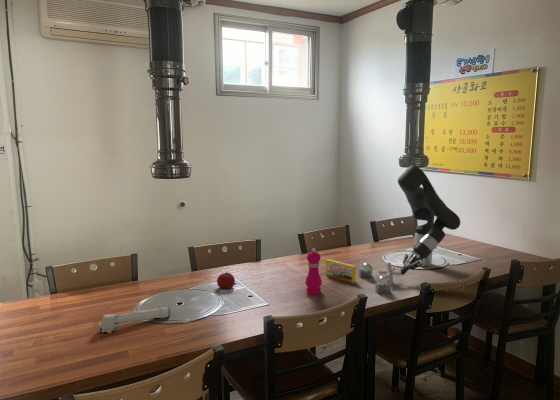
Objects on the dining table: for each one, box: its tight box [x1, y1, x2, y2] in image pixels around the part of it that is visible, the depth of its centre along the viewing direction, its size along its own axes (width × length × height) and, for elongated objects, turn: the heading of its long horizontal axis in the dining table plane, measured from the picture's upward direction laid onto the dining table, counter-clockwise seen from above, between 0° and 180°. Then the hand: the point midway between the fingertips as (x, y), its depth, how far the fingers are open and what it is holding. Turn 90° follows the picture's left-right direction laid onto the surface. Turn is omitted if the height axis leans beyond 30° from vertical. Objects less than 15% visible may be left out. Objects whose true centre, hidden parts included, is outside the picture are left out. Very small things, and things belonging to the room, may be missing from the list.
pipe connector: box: [378, 261, 402, 284], centre depth 189 cm, size 10×10×10 cm
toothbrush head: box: [98, 306, 171, 333], centre depth 151 cm, size 5×7×25 cm
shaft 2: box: [374, 273, 392, 295], centre depth 180 cm, size 6×6×7 cm
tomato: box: [216, 271, 236, 289], centre depth 186 cm, size 8×8×7 cm
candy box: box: [325, 258, 356, 284], centre depth 196 cm, size 16×2×8 cm, turn 47°
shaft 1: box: [357, 260, 373, 279], centre depth 198 cm, size 6×6×7 cm
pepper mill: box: [304, 248, 323, 295], centre depth 179 cm, size 7×7×20 cm
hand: (400, 273), depth 189 cm, fingers closed
